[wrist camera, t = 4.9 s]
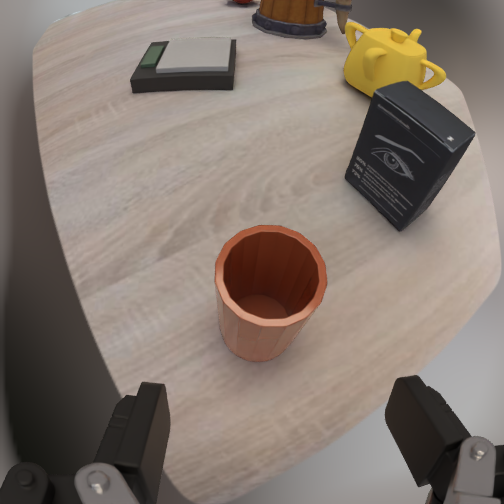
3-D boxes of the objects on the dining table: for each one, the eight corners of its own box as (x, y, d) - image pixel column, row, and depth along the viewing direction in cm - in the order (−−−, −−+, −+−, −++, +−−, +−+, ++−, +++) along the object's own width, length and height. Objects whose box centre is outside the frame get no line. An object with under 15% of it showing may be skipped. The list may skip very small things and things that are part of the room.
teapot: (331, 59, 43) (343, 4, 34) (403, 75, 44) (421, 26, 35) (347, 105, 37) (367, 37, 28) (431, 124, 37) (459, 66, 28)
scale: (132, 93, 36) (128, 74, 33) (152, 54, 42) (151, 38, 39) (232, 89, 37) (233, 70, 34) (235, 51, 43) (236, 35, 40)
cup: (220, 361, 21) (212, 326, 14) (221, 292, 24) (217, 223, 16) (295, 361, 22) (332, 325, 14) (291, 293, 24) (320, 226, 16)
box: (427, 209, 29) (480, 133, 20) (398, 235, 27) (456, 152, 18) (374, 158, 32) (409, 77, 23) (340, 177, 30) (374, 86, 21)
